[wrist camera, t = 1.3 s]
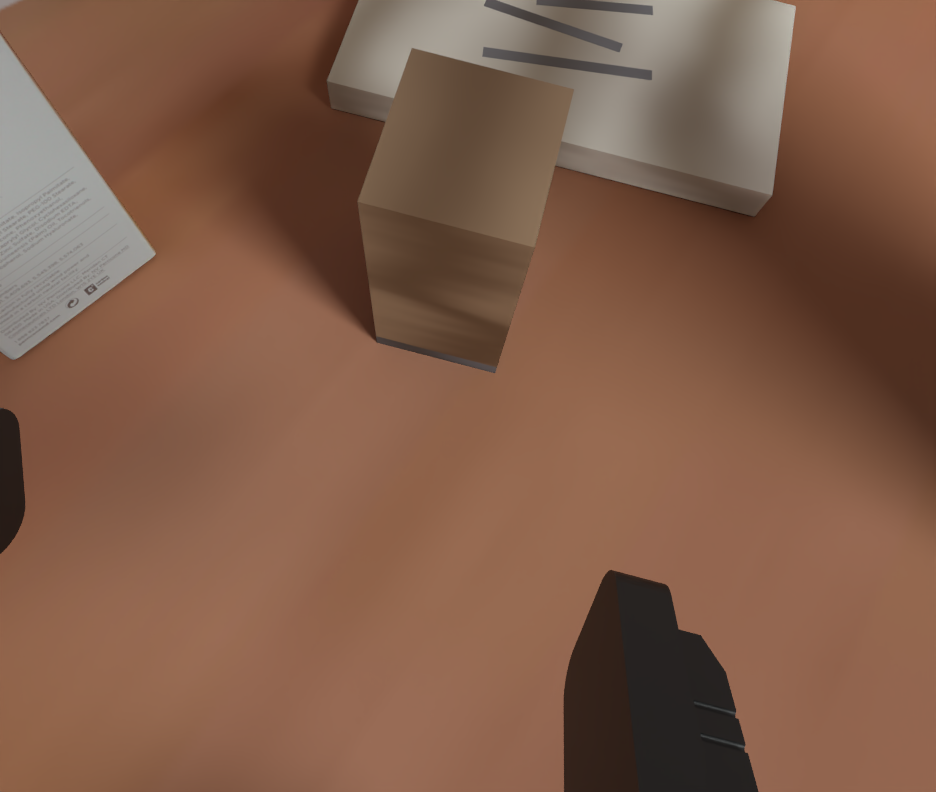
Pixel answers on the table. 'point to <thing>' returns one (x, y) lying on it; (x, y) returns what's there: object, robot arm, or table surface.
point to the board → (608, 80)
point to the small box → (52, 218)
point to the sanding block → (457, 205)
